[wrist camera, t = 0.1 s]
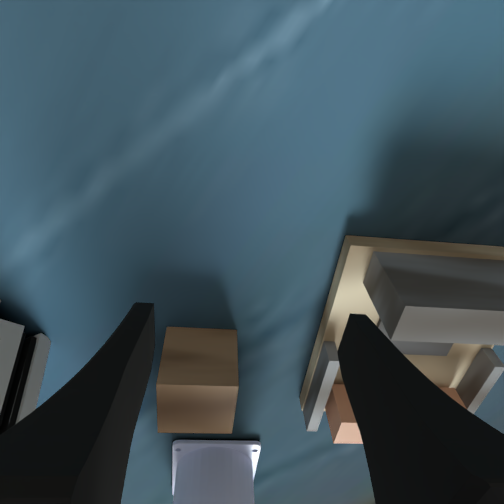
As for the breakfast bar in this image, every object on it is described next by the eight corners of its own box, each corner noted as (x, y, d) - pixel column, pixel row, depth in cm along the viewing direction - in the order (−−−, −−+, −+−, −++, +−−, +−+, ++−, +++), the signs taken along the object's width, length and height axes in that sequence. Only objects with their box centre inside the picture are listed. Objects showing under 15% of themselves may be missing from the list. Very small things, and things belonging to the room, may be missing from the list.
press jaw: (442, 407, 32) (462, 444, 29) (324, 404, 31) (333, 443, 28) (454, 387, 30) (476, 425, 28) (331, 384, 29) (341, 422, 27)
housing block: (231, 374, 31) (231, 433, 27) (167, 372, 30) (157, 432, 26) (236, 328, 28) (238, 386, 24) (166, 325, 27) (156, 384, 23)
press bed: (443, 401, 34) (483, 473, 29) (299, 397, 33) (313, 473, 27) (536, 249, 25) (615, 312, 20) (345, 235, 24) (378, 299, 19)
